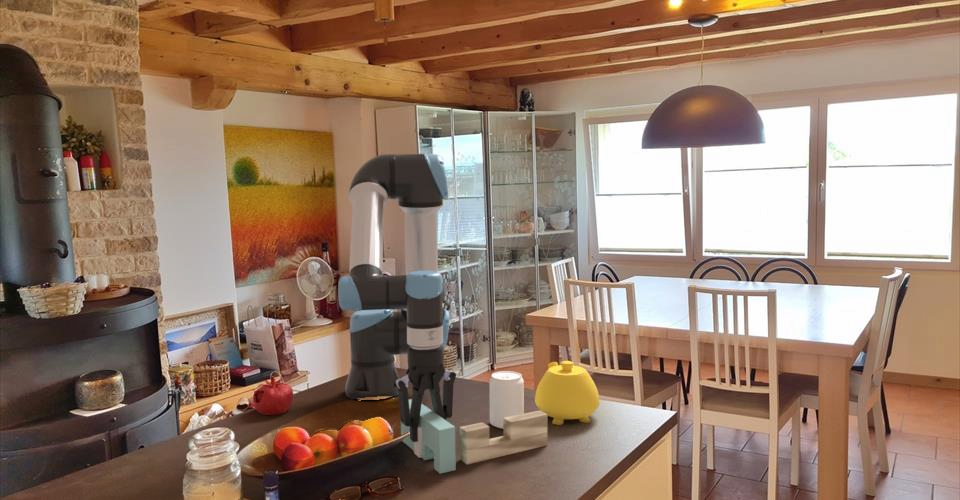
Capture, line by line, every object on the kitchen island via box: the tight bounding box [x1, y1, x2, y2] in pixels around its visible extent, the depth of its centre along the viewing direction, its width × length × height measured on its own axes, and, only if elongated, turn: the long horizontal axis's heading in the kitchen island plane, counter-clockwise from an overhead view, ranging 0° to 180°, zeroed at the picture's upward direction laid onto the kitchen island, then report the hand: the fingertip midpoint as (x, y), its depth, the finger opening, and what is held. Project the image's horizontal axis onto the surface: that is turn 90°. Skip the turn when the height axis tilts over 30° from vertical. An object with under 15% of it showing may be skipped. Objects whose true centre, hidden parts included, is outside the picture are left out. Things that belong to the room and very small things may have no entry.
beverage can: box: [488, 370, 525, 429], centre depth 164 cm, size 8×8×12 cm
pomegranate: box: [252, 375, 295, 416], centre depth 176 cm, size 10×10×9 cm
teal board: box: [400, 398, 457, 475], centre depth 147 cm, size 20×4×9 cm, turn 29°
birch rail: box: [459, 409, 548, 465], centre depth 148 cm, size 3×20×7 cm, turn 119°
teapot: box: [534, 360, 600, 426], centre depth 171 cm, size 20×16×14 cm
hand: (427, 453), depth 147 cm, fingers closed on teal board, 3 cm apart
